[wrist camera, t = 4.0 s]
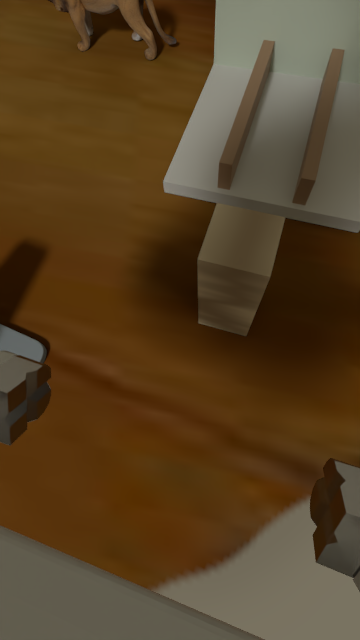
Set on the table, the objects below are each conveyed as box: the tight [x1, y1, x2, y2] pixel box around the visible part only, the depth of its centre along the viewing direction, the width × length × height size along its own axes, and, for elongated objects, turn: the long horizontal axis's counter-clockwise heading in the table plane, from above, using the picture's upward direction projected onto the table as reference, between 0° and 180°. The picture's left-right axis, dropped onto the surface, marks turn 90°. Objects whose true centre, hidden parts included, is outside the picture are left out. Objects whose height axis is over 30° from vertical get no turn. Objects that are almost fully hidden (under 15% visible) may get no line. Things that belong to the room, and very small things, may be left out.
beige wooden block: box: [197, 203, 285, 336], centre depth 20 cm, size 4×4×8 cm
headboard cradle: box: [163, 0, 360, 233], centre depth 23 cm, size 16×20×15 cm
